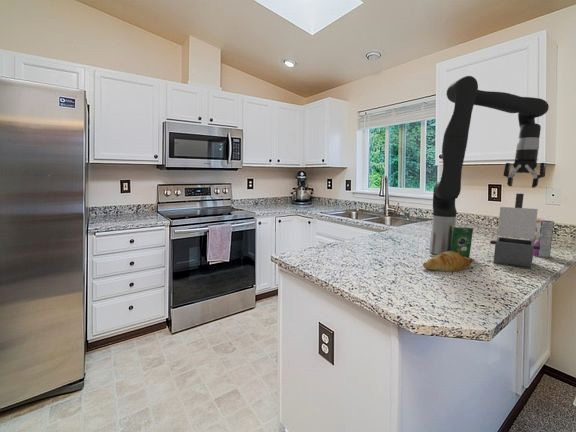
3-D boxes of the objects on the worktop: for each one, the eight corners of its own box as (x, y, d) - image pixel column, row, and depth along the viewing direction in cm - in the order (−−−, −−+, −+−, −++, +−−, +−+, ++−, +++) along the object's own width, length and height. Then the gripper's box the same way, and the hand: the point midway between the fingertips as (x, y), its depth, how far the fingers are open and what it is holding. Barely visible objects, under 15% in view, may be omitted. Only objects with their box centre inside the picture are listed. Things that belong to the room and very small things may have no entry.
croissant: (427, 281, 110) (436, 265, 105) (412, 262, 118) (420, 246, 113) (475, 276, 115) (485, 261, 110) (457, 258, 123) (466, 243, 118)
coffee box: (465, 255, 133) (468, 226, 131) (470, 257, 131) (473, 227, 129) (449, 256, 132) (452, 226, 130) (454, 258, 129) (457, 228, 127)
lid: (501, 192, 129) (502, 193, 130) (497, 235, 130) (497, 235, 131) (539, 194, 121) (539, 194, 123) (534, 239, 122) (534, 239, 123)
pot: (487, 262, 123) (489, 240, 122) (490, 256, 132) (492, 236, 131) (538, 270, 113) (541, 246, 112) (536, 263, 123) (539, 241, 121)
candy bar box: (522, 251, 143) (526, 216, 141) (535, 251, 142) (539, 217, 140) (537, 257, 132) (541, 220, 130) (550, 258, 131) (555, 220, 129)
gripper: (504, 149, 133) (499, 186, 135) (545, 147, 122) (539, 187, 124) (511, 150, 137) (506, 186, 140) (551, 149, 126) (544, 188, 128)
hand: (521, 186), depth 132 cm, fingers open, 8 cm apart
